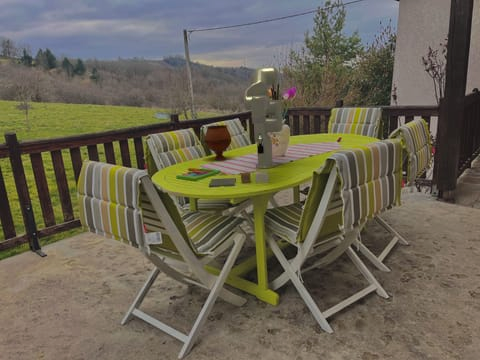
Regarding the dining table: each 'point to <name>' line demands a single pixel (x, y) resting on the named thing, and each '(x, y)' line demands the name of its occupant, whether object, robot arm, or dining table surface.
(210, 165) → the dining table surface
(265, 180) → the cream brick
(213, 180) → the base plate
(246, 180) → the walnut cube
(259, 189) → the dining table surface
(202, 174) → the jigsaw puzzle tray
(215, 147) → the goblet
